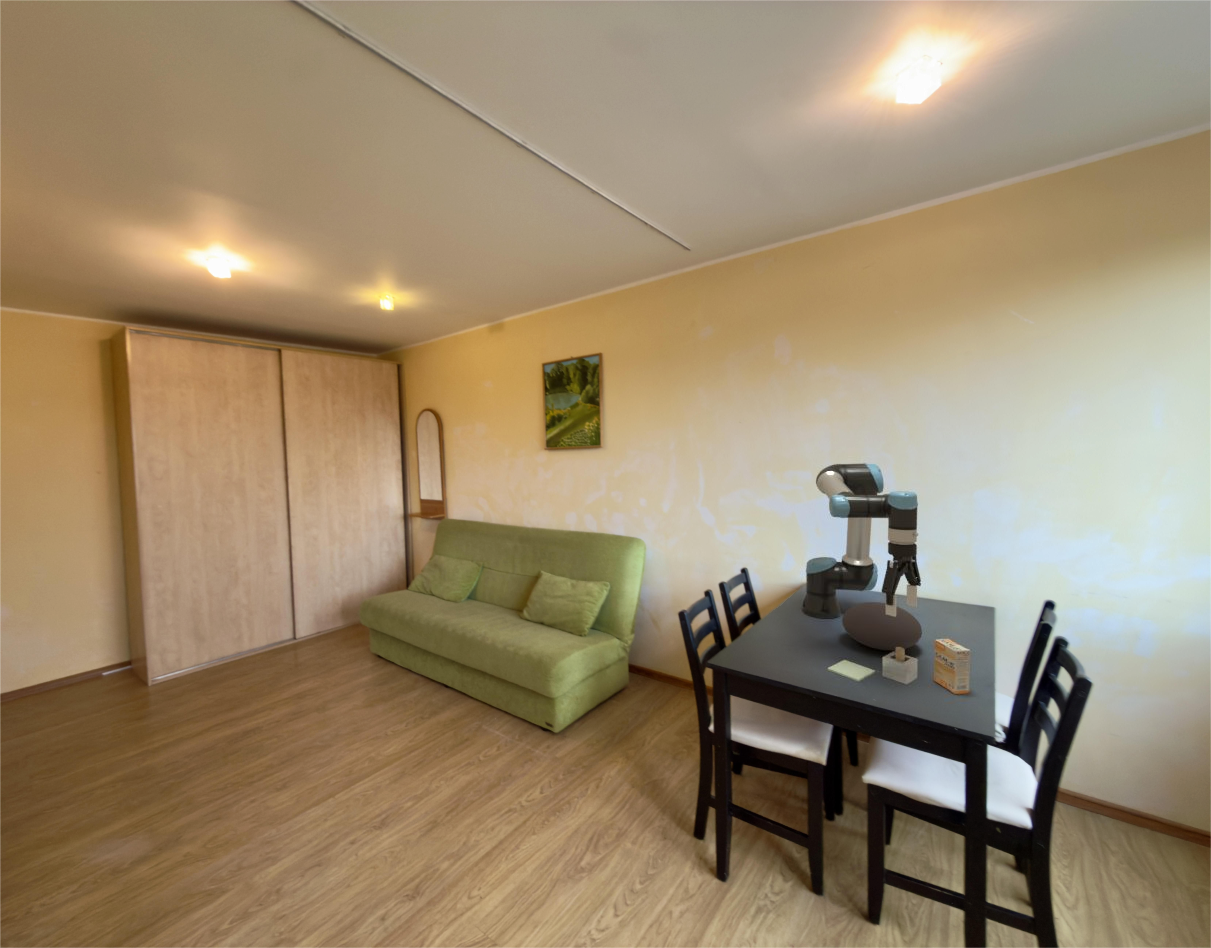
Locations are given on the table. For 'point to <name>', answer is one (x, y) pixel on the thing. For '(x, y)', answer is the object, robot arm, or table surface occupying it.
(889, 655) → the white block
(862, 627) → the flattened ellipsoid
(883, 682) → the table surface
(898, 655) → the dowel
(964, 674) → the supplement box
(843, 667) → the mat
